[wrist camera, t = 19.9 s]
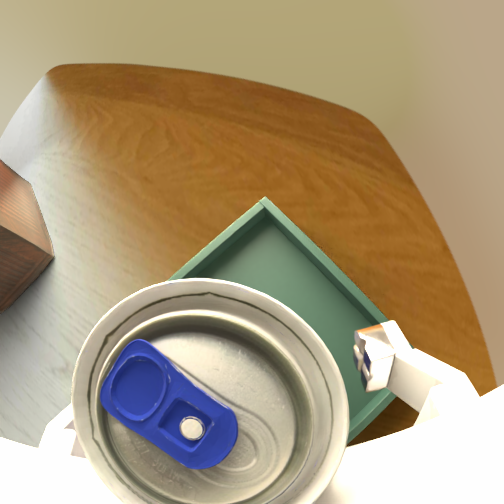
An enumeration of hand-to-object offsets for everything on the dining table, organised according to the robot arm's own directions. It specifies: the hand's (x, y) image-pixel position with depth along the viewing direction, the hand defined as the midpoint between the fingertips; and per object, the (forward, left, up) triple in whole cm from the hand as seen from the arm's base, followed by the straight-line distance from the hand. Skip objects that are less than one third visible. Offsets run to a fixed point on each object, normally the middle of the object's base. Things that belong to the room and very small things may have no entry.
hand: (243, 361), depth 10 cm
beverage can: (+1, 0, -9) cm, 9 cm away
